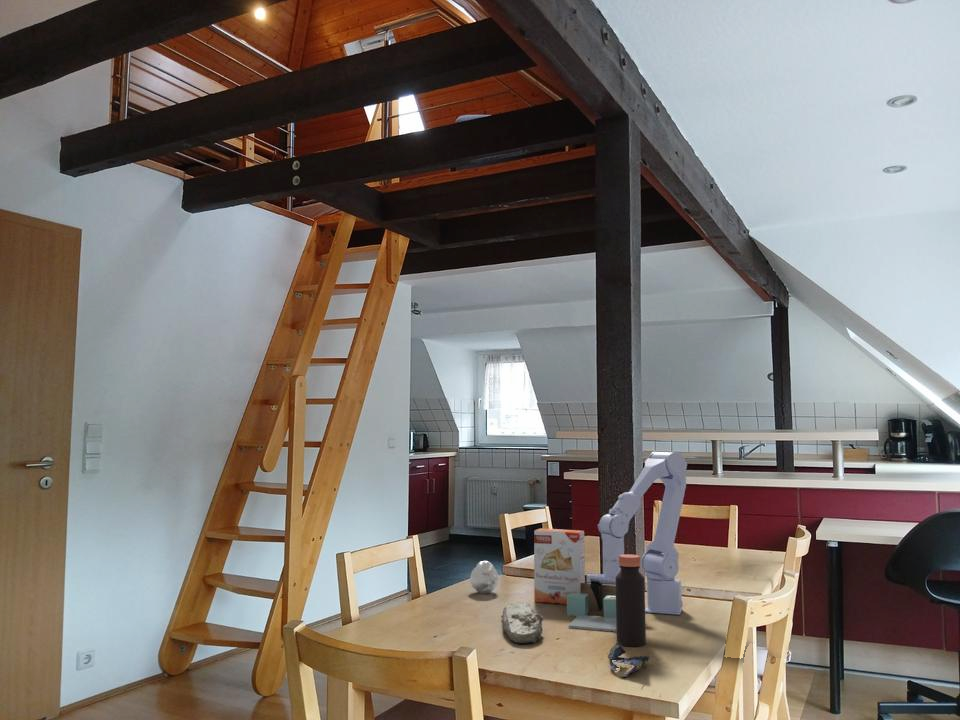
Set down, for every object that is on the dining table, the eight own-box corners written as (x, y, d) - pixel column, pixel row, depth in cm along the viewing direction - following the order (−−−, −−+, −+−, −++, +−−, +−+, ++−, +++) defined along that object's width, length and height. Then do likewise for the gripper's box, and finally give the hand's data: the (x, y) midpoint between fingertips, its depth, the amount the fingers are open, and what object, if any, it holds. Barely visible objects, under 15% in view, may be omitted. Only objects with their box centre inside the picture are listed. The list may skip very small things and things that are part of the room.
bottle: (625, 637, 179) (623, 552, 181) (651, 642, 174) (649, 555, 176) (611, 643, 173) (609, 556, 176) (637, 648, 169) (635, 559, 171)
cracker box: (533, 602, 217) (533, 529, 219) (539, 598, 223) (539, 527, 225) (580, 606, 212) (579, 532, 214) (585, 602, 217) (584, 529, 220)
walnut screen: (628, 610, 207) (628, 584, 208) (626, 613, 203) (625, 587, 204) (582, 606, 211) (582, 581, 212) (579, 609, 208) (579, 584, 208)
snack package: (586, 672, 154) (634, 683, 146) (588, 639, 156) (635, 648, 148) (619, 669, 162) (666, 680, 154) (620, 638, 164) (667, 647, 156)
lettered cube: (625, 615, 201) (625, 595, 202) (622, 619, 197) (622, 599, 197) (606, 614, 203) (606, 594, 204) (603, 618, 198) (603, 597, 199)
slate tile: (623, 620, 195) (623, 618, 195) (616, 631, 184) (616, 629, 184) (578, 617, 199) (578, 614, 199) (568, 627, 188) (568, 625, 188)
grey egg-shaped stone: (466, 595, 227) (466, 562, 228) (473, 589, 236) (473, 557, 237) (495, 597, 225) (495, 563, 226) (501, 591, 234) (501, 558, 235)
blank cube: (588, 612, 205) (588, 594, 205) (585, 616, 200) (584, 597, 201) (571, 611, 206) (570, 592, 207) (567, 615, 202) (566, 596, 202)
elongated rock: (535, 617, 206) (499, 619, 206) (534, 597, 207) (498, 599, 207) (548, 644, 172) (505, 647, 172) (547, 620, 173) (504, 623, 172)
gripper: (584, 560, 200) (584, 612, 199) (638, 563, 195) (639, 616, 194) (589, 556, 207) (590, 606, 205) (642, 559, 202) (643, 610, 201)
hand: (614, 611), depth 200 cm, fingers open, 7 cm apart
